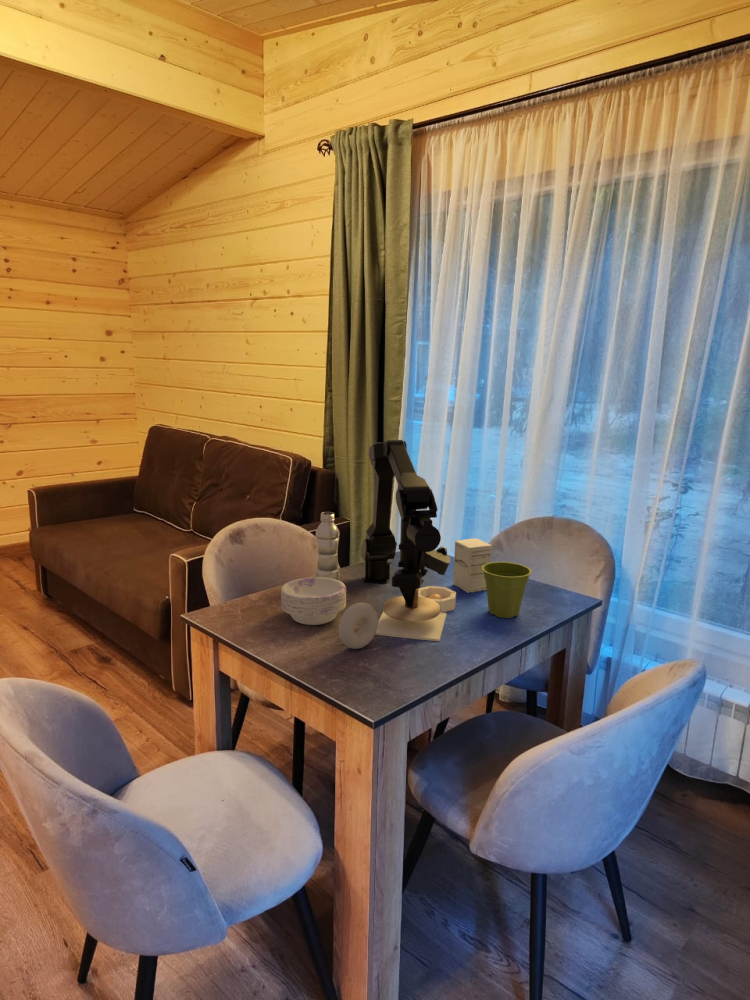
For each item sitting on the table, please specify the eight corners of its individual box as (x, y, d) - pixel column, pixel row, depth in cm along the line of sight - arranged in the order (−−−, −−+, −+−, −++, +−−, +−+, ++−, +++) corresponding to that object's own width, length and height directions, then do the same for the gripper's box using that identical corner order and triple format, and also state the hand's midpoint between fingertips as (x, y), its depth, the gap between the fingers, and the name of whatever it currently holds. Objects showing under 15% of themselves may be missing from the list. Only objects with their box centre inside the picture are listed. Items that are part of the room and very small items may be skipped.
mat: (372, 634, 142) (372, 632, 142) (385, 609, 156) (385, 607, 156) (439, 641, 139) (439, 639, 139) (446, 615, 153) (446, 613, 153)
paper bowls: (307, 601, 161) (307, 571, 159) (358, 613, 153) (358, 582, 152) (268, 621, 148) (267, 589, 146) (321, 636, 141) (321, 602, 139)
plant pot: (538, 619, 151) (541, 574, 149) (492, 624, 148) (495, 578, 146) (513, 601, 162) (516, 559, 160) (471, 606, 159) (473, 563, 157)
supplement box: (452, 584, 174) (454, 540, 171) (474, 581, 177) (477, 537, 174) (466, 593, 168) (469, 547, 165) (490, 589, 171) (492, 544, 168)
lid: (378, 618, 142) (378, 597, 141) (389, 597, 154) (389, 577, 153) (436, 624, 139) (436, 602, 138) (442, 602, 152) (443, 582, 151)
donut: (370, 638, 140) (371, 595, 138) (381, 643, 137) (381, 600, 135) (334, 651, 134) (334, 606, 131) (345, 657, 131) (345, 611, 129)
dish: (412, 613, 156) (412, 598, 155) (418, 598, 166) (418, 584, 165) (452, 617, 154) (453, 602, 153) (456, 602, 164) (457, 588, 163)
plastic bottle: (341, 581, 175) (341, 510, 171) (337, 590, 169) (337, 517, 164) (318, 580, 176) (317, 510, 172) (313, 588, 169) (313, 516, 165)
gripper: (444, 553, 133) (441, 623, 136) (452, 530, 150) (450, 592, 154) (391, 549, 135) (390, 618, 138) (406, 527, 153) (404, 588, 156)
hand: (411, 604), depth 147 cm, fingers closed on lid, 3 cm apart
